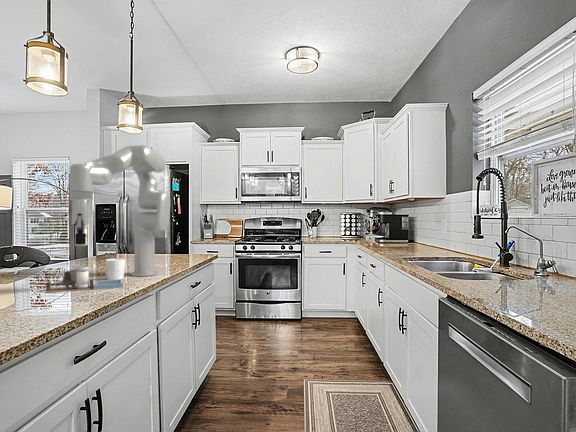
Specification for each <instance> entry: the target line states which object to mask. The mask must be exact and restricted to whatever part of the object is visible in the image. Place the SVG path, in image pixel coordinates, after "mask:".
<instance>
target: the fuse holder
mask: <svg viewBox="0 0 576 432" xmlns="http://www.w3.org/2000/svg"><path fill="white" fill-rule="evenodd" d="M89 279H90V278H89ZM64 285H65V286H63V287H62V286H60V287H51V281H47V282H46V283H45V292H44V294H54V293H66V292H67V293H68V292H79V291H80V292H81V291H91V290H92V291H93V289H94V279H92V278H91V279H90V280H89V288H86V289H76V284H75V280H72V285H71V286H70V285H69V281H66V282H65V284H64Z"/></svg>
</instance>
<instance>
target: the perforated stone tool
mask: <svg viewBox="0 0 576 432" xmlns="http://www.w3.org/2000/svg"><path fill="white" fill-rule="evenodd" d="M72 280H75V285H77V271H76V269H71V270H67V271H64V272H63V278H62V283H63V285H65V282H66V281H69V286H72Z"/></svg>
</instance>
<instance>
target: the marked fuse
mask: <svg viewBox="0 0 576 432" xmlns="http://www.w3.org/2000/svg"><path fill="white" fill-rule="evenodd" d="M88 225H89V224H88ZM88 225H86V226H85V234H86V243H85V244H76V225H75V226H74V231H75V233H74V241H75V242H74V246H75V247H86V246H89V244H88V237H89V236H88V228H89V226H88Z"/></svg>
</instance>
